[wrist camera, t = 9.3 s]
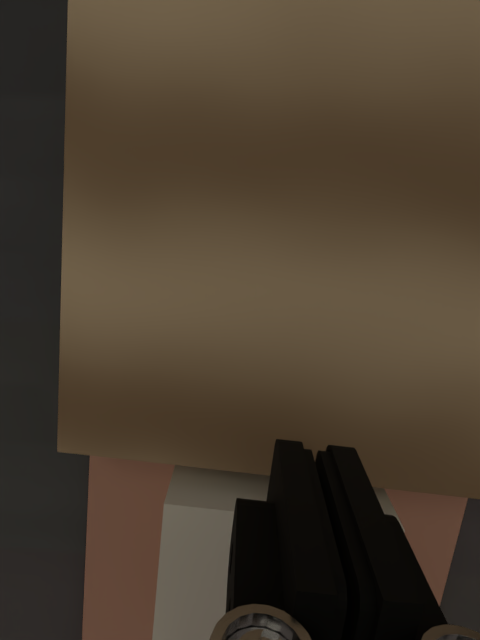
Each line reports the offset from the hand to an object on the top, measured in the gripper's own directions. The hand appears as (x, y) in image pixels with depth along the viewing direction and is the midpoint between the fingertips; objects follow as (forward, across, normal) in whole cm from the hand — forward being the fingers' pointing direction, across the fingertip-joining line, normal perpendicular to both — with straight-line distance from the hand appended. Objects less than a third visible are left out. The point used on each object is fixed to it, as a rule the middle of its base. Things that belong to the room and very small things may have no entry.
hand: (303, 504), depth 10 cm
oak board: (+5, 0, -8) cm, 9 cm away
